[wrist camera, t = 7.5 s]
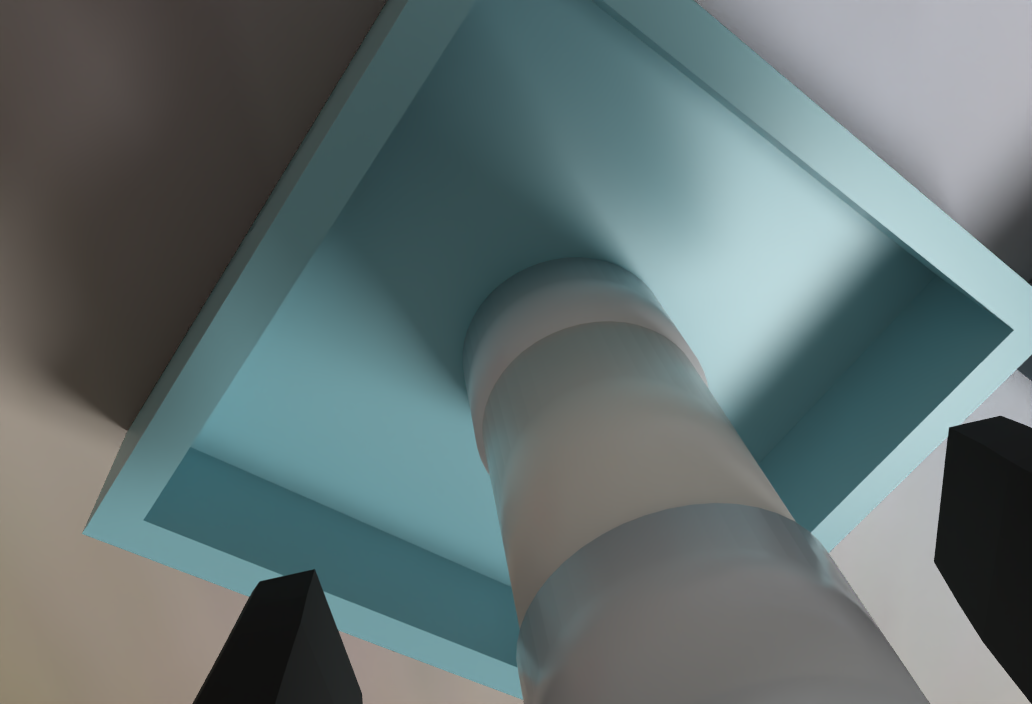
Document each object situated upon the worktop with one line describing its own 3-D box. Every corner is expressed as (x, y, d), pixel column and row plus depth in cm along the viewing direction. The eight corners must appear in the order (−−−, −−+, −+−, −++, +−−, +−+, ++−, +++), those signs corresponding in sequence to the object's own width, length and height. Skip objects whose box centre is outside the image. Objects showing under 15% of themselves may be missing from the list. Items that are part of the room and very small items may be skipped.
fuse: (545, 216, 13) (747, 615, 6) (709, 323, 14) (1034, 752, 7) (421, 386, 14) (468, 891, 7) (584, 470, 15) (762, 968, 8)
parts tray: (479, -152, 11) (505, -159, 9) (966, 252, 15) (1069, 317, 13) (127, 432, 14) (82, 534, 12) (603, 637, 18) (635, 742, 16)
